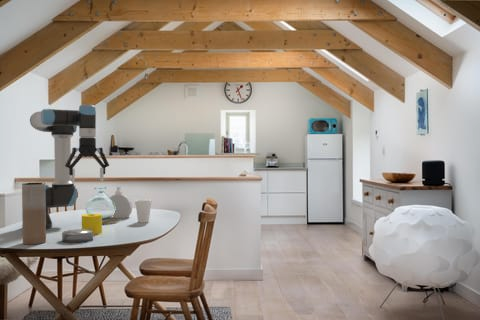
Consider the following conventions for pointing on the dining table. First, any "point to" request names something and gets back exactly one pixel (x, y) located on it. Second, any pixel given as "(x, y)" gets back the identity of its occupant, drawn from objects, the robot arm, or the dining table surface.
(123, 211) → the soap bottle
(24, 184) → the vase
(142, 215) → the foam cup
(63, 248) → the dining table surface
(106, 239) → the dining table surface
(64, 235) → the grey metal disc
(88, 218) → the tape roll
